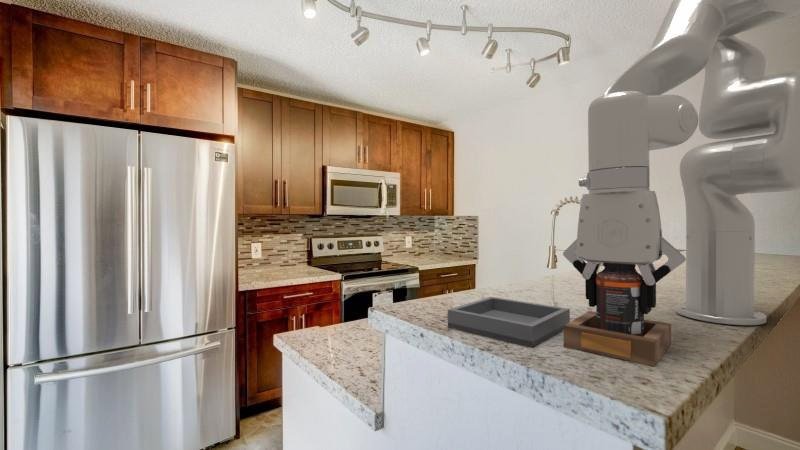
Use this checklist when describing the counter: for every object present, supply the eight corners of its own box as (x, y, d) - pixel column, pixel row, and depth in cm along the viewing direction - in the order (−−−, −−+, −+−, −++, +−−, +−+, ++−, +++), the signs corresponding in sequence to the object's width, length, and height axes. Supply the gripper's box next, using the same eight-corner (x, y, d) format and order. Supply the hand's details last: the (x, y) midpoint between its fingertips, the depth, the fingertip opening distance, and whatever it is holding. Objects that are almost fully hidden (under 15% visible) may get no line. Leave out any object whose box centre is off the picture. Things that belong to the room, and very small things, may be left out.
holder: (589, 329, 63) (589, 311, 63) (671, 344, 55) (671, 323, 55) (562, 346, 54) (562, 325, 54) (653, 367, 47) (653, 342, 47)
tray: (491, 311, 75) (491, 296, 75) (569, 326, 64) (569, 308, 64) (447, 327, 65) (447, 309, 65) (532, 347, 54) (532, 326, 54)
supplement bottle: (652, 343, 52) (651, 260, 51) (604, 341, 53) (603, 260, 52) (634, 330, 57) (633, 255, 57) (591, 328, 59) (590, 255, 58)
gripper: (547, 186, 58) (549, 304, 58) (689, 176, 46) (690, 325, 46) (566, 188, 63) (568, 296, 64) (697, 179, 51) (698, 312, 52)
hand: (619, 307), depth 55 cm, fingers closed on supplement bottle, 6 cm apart
